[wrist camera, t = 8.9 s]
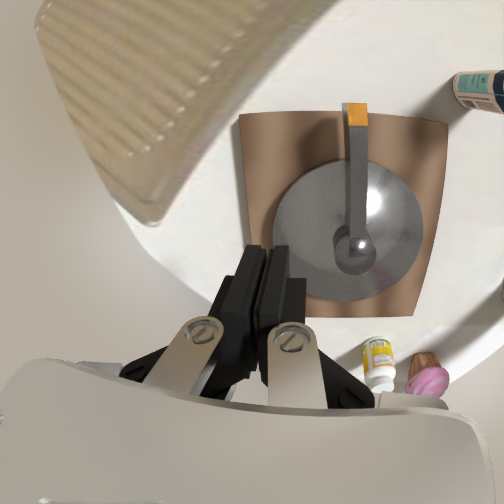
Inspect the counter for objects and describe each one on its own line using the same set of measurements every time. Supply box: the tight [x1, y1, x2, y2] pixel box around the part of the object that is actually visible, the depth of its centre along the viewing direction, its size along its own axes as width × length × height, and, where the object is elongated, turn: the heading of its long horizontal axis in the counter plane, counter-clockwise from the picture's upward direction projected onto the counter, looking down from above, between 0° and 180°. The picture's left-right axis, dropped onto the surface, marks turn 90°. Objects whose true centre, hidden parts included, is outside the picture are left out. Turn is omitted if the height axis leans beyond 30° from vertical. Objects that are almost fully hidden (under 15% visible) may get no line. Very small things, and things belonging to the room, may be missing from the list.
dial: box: [273, 103, 423, 302], centre depth 28 cm, size 24×18×6 cm
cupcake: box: [405, 353, 449, 398], centre depth 40 cm, size 9×9×10 cm
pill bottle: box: [453, 70, 504, 114], centre depth 16 cm, size 5×5×12 cm
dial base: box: [239, 111, 448, 318], centre depth 33 cm, size 24×28×2 cm
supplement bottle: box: [362, 337, 396, 394], centre depth 39 cm, size 5×5×10 cm
